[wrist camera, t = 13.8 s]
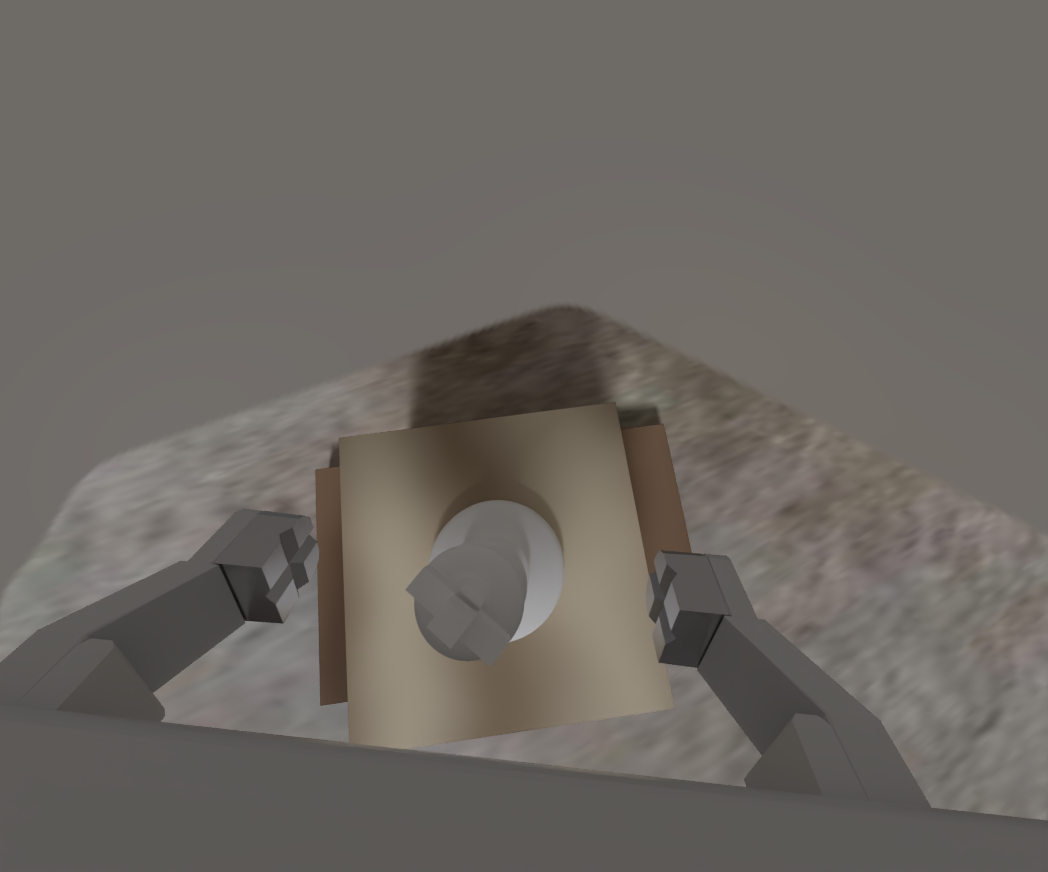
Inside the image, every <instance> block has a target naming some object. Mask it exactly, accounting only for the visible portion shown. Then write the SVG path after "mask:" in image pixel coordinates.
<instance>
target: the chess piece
mask: <svg viewBox="0 0 1048 872" xmlns="http://www.w3.org/2000/svg"><path fill="white" fill-rule="evenodd" d="M564 578H565V562H564V556H563V551H562V548H561V545H560V542H559V540H558V538H557V536H556V534H555V532H554V531H553V529H552V528H551V527H550V525H549V524H548V523H547V522H546V521H545V520H544V519H543V518H542V517H541V516H540V515H539V514H538V513H536V512H535V511H533V510H532V509H530V508H528V507H526V506H524V505H522V504H519V503H516V502H511V501H505V500H490V501H484V502H480V503H477V504H474V505H472V506H470V507H468V508H466V509H464V510H462V511H461V512H459V513H458V514H457V515H455V516H454V517H453V518H452V519H451V520H450V521H449V522H448V523H447V524H446V525H445V526H444V528H443V529H442V530H441V532H440V533H439V535H438V537H437V538H436V540H435V542H434V545H433V547H432V550H431V553H430V557H429V563H428V566H425V567H424V568H423V569H422V570H421V571H420V573H419V574H418V575H417V576H416V577H415V579H414V580H413V581H412V582H411V583H410V585H409V586H408V587H407V588H406V589H405V590H406V591H407V592H408V593H409V594H410V595H411V596H413V597H414V611H415V617H416V621H417V624H418V627H419V629H420V632H421V633H422V635H423V637H424V638H425V640H426V641H427V642H428V643H429V644H430V645H431V646H432V647H433V648H434V649H435V650H436V651H437V652H439V653H440V654H442V655H444V656H446V657H448V658H451V659H454V660H459V661H476V660H481V659H482V660H483V661H484V662H485V663H486V664H487V665H488V666H489V667H491V666H492V664H493V663H494V662H495V660H496V659H497V658H498V657H499V655H500V654H501V653H502V651H503V650H504V649H505V647H506V646H507V645H508V643H509V642H512V641H515V640H518V639H520V638H523V637H525V636H527V635H528V634H530V633H532V632H533V631H535V630H536V629H537V628H538V627H539V626H541V625H542V624H543V623H544V622H545V621H546V619H547V618H548V617H549V616H550V614H551V613H552V611H553V610H554V608H555V606H556V605H557V602H558V600H559V598H560V595H561V592H562V589H563V585H564Z"/></svg>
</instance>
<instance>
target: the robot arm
mask: <svg viewBox="0 0 1048 872" xmlns="http://www.w3.org/2000/svg"><path fill="white" fill-rule="evenodd" d="M312 529H313V525H312V522H311V519H310V518H309V517H307V516H302V515H294V514H286V513H278V512H270V511H258V510H250V509H242V510H239V511H237V512H235V513H234V514H233V515H232V516H231V517H230V518H229V519H228V520H227V521H226V522H225V524H224V525H223V526H222V527H221V528H220V529H219V530H218V531H217V532H216V533H215V534H214V535H213V536H212V537H211V538H210V539H209V540H208V541H207V542H206V543H205V544H204V545H203V546H202V547H201V548H200V549H199V550H198V551H197V552H196V553H195V554H194V556H193V557H192V558H191V559H190V560H189V561H180V562H178V563H175V564H173V565H171V566H169V567H167V568H165V569H163V570H161V571H159V572H157V573H155V574H153V575H151V576H149V577H147V578H145V579H142V580H140V581H138V582H136V583H134V584H132V585H130V586H128V587H126V588H124V589H122V590H120V591H118V592H116V593H114V594H111V595H109V596H107V597H105V598H103V599H101V600H99V601H97V602H95V603H93V604H91V605H89V606H87V607H85V608H83V609H81V610H78V611H76V612H74V613H72V614H70V615H68V616H66V617H64V618H62V619H60V620H58V621H56V622H54V623H52V624H50V625H47V626H45V627H43V628H41V629H39V630H37V631H36V632H35V633H34V634H33V635H32V636H31V637H29V638H28V639H27V640H26V641H25V642H24V643H22V644H21V645H20V646H19V647H18V648H17V649H16V650H14V651H13V652H12V653H11V654H10V655H9V656H8V657H6V658H5V659H4V660H3V661H2V662H1V663H0V872H1048V821H1047V820H1038V819H1029V818H1020V817H1011V816H1002V815H993V814H984V813H975V812H966V811H957V810H948V809H939V808H931V806H930V804H929V803H928V801H927V799H926V798H925V796H924V794H923V792H922V791H921V789H920V787H919V786H918V784H917V782H916V781H915V779H914V777H913V775H912V774H911V772H910V770H909V769H908V767H907V765H906V764H905V762H904V760H903V758H902V757H901V755H900V753H899V752H898V750H897V748H896V747H895V745H894V743H893V741H892V740H891V738H890V736H889V735H888V733H887V731H886V730H885V728H884V726H883V725H882V723H881V721H880V720H879V719H878V718H877V717H875V716H874V715H873V714H872V713H871V712H870V711H869V710H867V709H866V708H865V707H864V706H863V705H862V704H861V703H859V702H858V701H857V700H856V699H855V698H854V697H853V696H851V695H850V694H849V693H848V692H847V691H846V690H845V689H843V688H842V687H841V686H840V685H839V684H838V683H836V682H835V681H834V680H833V679H832V678H831V677H830V676H828V675H827V674H826V673H825V672H824V671H823V670H822V669H820V668H819V667H818V666H817V665H816V664H815V663H814V662H812V661H811V660H810V659H809V658H808V657H807V656H806V655H804V654H803V653H802V652H801V651H800V650H799V649H798V648H796V647H795V646H794V645H793V644H792V643H791V642H790V641H788V640H787V639H786V638H785V637H784V636H783V635H782V634H780V633H779V632H778V631H777V630H776V629H775V628H773V627H772V626H771V625H770V624H769V623H768V622H767V621H765V620H761V619H757V616H756V614H755V612H754V610H753V608H752V605H751V603H750V601H749V599H748V597H747V595H746V592H745V590H744V588H743V586H742V584H741V581H740V579H739V577H738V575H737V573H736V571H735V568H734V566H733V564H732V562H731V560H730V559H729V558H728V557H727V556H722V555H711V554H699V553H688V552H676V551H665V550H659V551H658V553H657V554H656V557H655V560H654V564H655V569H656V571H654V572H653V573H651V574H650V575H649V578H648V582H647V587H646V605H647V611H648V616H649V617H650V618H651V619H652V621H653V622H654V623H655V624H656V625H655V628H654V630H653V633H652V636H653V641H654V645H655V650H656V655H657V660H658V663H664V664H672V665H679V666H687V667H695V668H698V669H697V670H698V672H699V673H700V674H701V676H702V677H703V678H704V680H705V681H706V682H707V684H708V685H709V686H710V688H711V689H712V690H713V692H714V693H715V694H716V695H717V697H718V698H719V699H720V701H721V702H722V703H723V705H724V706H725V707H726V709H727V710H728V711H729V713H730V714H731V715H732V717H733V718H734V719H735V721H736V722H737V723H738V724H739V726H740V727H741V728H742V730H743V731H744V732H745V734H746V735H747V736H748V738H749V739H750V740H751V742H752V743H753V744H754V746H755V747H756V748H757V750H758V751H759V752H760V753H761V755H762V756H761V758H760V759H759V760H758V761H757V763H756V764H755V765H754V766H753V768H752V769H751V770H750V771H749V773H748V774H747V776H746V777H745V778H744V781H745V784H746V787H741V786H731V785H722V784H713V783H704V782H695V781H687V780H678V779H669V778H660V777H651V776H642V775H633V774H624V773H615V772H606V771H597V770H588V769H579V768H570V767H561V766H552V765H543V764H534V763H525V762H516V761H507V760H499V759H490V758H481V757H472V756H463V755H454V754H445V753H436V752H427V751H418V750H409V749H400V748H391V747H382V746H373V745H364V744H355V743H346V742H337V741H328V740H319V739H310V738H301V737H292V736H283V735H274V734H265V733H256V732H247V731H238V730H229V729H220V728H211V727H202V726H193V725H184V724H175V723H166V722H161V720H162V719H163V718H164V716H165V710H164V707H163V706H162V705H161V703H160V702H159V701H158V699H157V698H156V697H155V695H154V694H153V692H155V691H156V690H157V689H159V688H160V687H161V686H163V685H164V684H165V683H167V682H168V681H169V680H171V679H172V678H173V677H175V676H176V675H177V674H179V673H180V672H181V671H182V670H184V669H185V668H186V667H188V666H189V665H190V664H192V663H193V662H194V661H196V660H197V659H198V658H200V657H201V656H202V655H204V654H205V653H206V652H208V651H209V650H210V649H212V648H213V647H214V646H215V645H217V644H218V643H219V642H221V641H222V640H223V639H225V638H226V637H227V636H229V635H230V634H231V633H233V632H234V631H235V630H237V629H238V628H239V627H241V626H242V625H243V624H245V621H256V622H269V623H282V624H283V623H284V622H285V620H286V618H287V617H288V615H289V614H290V612H291V610H292V609H293V607H294V605H295V604H296V602H297V601H298V599H299V594H298V589H299V588H300V587H302V586H303V585H305V584H306V583H308V582H309V581H310V579H311V578H312V576H313V574H314V573H315V570H316V567H317V564H318V560H319V547H318V543H317V541H316V540H315V539H313V538H312V537H311V536H310V535H309V534H310V532H311V531H312Z"/></svg>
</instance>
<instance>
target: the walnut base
mask: <svg viewBox="0 0 1048 872" xmlns="http://www.w3.org/2000/svg"><path fill="white" fill-rule="evenodd" d="M339 460H340V466H339V467H331V468H324V469H316V470H315V474H316V521H317V543H318V547H319V560H318V564H317V569H318V616H319V664H320V706H322V705H329V704H336V703H342V702H348V721H349V743H355V744H364V745H373V746H382V747H391V748H400V749H409V748H415V747H422V746H429V745H435V744H442V743H449V742H455V741H462V740H468V739H475V738H482V737H488V736H495V735H502V734H508V733H515V732H522V731H528V730H535V729H541V728H548V727H555V726H561V725H568V724H575V723H581V722H588V721H595V720H601V719H608V718H615V717H621V716H628V715H634V714H641V713H648V712H654V711H661V710H668V709H674V704H673V699H672V694H671V688H670V683H669V678H668V673H667V668H666V664H664V663H658V660H657V655H656V650H655V645H654V641H653V636H652V633H653V630H654V628H655V625H656V624H655V623H654V622H653V621H652V619H651V618H650V617H649V616H648V611H647V605H646V587H647V582H648V578H649V575H650V574H651V573H653V572H654V571H656V569H655V564H654V560H655V557H656V554H657V553H658V551H659V550H665V551H676V552H688V553H692V552H691V547H690V543H689V538H688V533H687V529H686V524H685V520H684V515H683V510H682V506H681V501H680V496H679V492H678V487H677V483H676V478H675V473H674V469H673V464H672V460H671V455H670V450H669V446H668V441H667V437H666V432H665V427H664V424H658V425H651V426H643V427H635V428H628V429H621V428H620V423H619V418H618V413H617V407H616V402H612V403H604V404H596V405H589V406H581V407H573V408H565V409H558V410H550V411H542V412H535V413H527V414H519V415H511V416H504V417H496V418H488V419H481V420H473V421H465V422H457V423H450V424H442V425H434V426H426V427H419V428H411V429H403V430H396V431H388V432H380V433H372V434H365V435H357V436H349V437H342V438H339ZM490 500H505V501H511V502H516V503H519V504H522V505H524V506H526V507H528V508H530V509H532V510H533V511H535V512H536V513H538V514H539V515H540V516H541V517H542V518H543V519H544V520H545V521H546V522H547V523H548V524H549V525H550V527H551V528H552V529H553V531H554V532H555V534H556V536H557V538H558V540H559V542H560V545H561V548H562V551H563V556H564V562H565V578H564V585H563V589H562V592H561V595H560V598H559V600H558V602H557V605H556V606H555V608H554V610H553V611H552V613H551V614H550V616H549V617H548V618H547V619H546V621H545V622H544V623H543V624H542V625H541V626H539V627H538V628H537V629H536V630H535V631H533V632H532V633H530V634H528V635H527V636H525V637H523V638H520V639H518V640H515V641H512V642H509V643H508V645H507V646H506V647H505V649H504V650H503V651H502V653H501V654H500V655H499V657H498V658H497V659H496V660H495V662H494V663H493V664H492V666H491V667H489V666H488V665H487V664H486V663H485V662H484V661H483V660H482V659H481V660H476V661H459V660H454V659H451V658H448V657H446V656H444V655H442V654H440V653H439V652H437V651H436V650H435V649H434V648H433V647H432V646H431V645H430V644H429V643H428V642H427V641H426V640H425V638H424V637H423V635H422V633H421V632H420V629H419V627H418V624H417V621H416V617H415V611H414V597H413V596H411V595H410V594H409V593H408V592H407V591H406V590H405V589H406V588H407V587H408V586H409V585H410V583H411V582H412V581H413V580H414V579H415V577H416V576H417V575H418V574H419V573H420V571H421V570H422V569H423V568H424V567H425V566H428V563H429V557H430V553H431V550H432V547H433V545H434V542H435V540H436V538H437V537H438V535H439V533H440V532H441V530H442V529H443V528H444V526H445V525H446V524H447V523H448V522H449V521H450V520H451V519H452V518H453V517H454V516H455V515H457V514H458V513H459V512H461V511H462V510H464V509H466V508H468V507H470V506H472V505H474V504H477V503H480V502H484V501H490Z"/></svg>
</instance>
